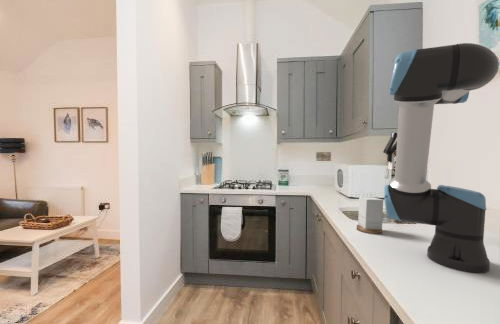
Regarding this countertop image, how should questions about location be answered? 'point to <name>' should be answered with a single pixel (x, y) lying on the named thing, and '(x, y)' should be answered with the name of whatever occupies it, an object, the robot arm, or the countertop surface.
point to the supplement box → (370, 212)
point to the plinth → (369, 230)
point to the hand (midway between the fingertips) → (405, 169)
